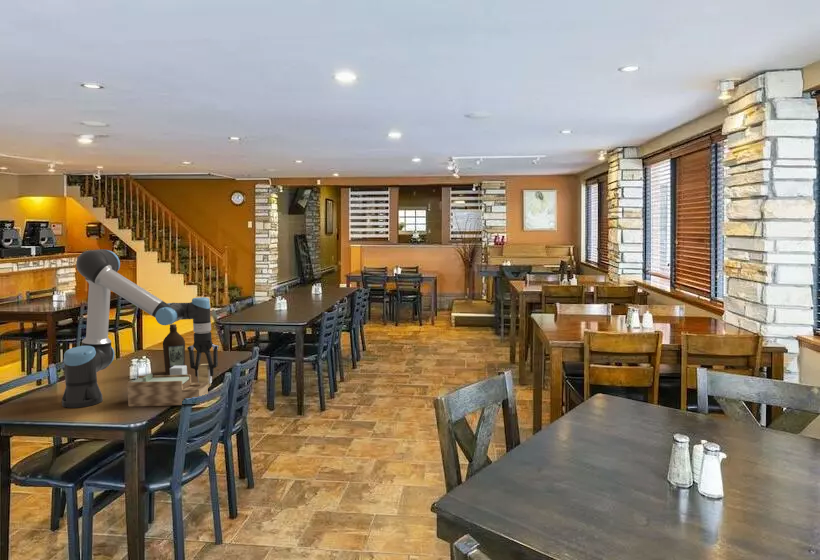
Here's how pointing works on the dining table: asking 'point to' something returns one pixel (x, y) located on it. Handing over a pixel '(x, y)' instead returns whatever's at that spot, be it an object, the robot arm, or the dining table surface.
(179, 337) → the olive oil
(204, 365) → the beige wooden block
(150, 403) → the toolbox
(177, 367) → the product box
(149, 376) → the lid
